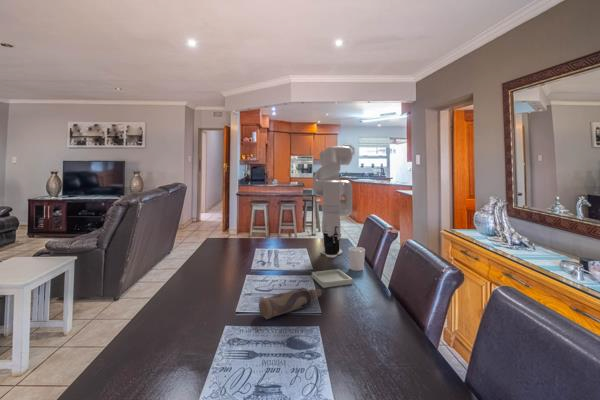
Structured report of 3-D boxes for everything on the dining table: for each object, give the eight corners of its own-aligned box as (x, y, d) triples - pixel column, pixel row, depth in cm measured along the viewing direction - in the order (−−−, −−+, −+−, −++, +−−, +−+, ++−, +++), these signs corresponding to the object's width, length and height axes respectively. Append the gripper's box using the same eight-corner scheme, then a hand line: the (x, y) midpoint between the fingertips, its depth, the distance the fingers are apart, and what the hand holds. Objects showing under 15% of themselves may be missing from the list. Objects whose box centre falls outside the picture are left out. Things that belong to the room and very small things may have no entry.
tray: (311, 276, 134) (311, 272, 134) (338, 273, 138) (338, 269, 138) (323, 287, 121) (323, 282, 121) (352, 283, 126) (352, 278, 125)
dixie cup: (327, 259, 124) (327, 233, 123) (319, 254, 131) (319, 230, 130) (343, 257, 127) (344, 231, 126) (334, 252, 134) (334, 228, 133)
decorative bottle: (269, 324, 93) (268, 303, 92) (258, 315, 99) (257, 295, 99) (330, 302, 108) (330, 285, 107) (318, 296, 114) (317, 279, 113)
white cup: (363, 266, 148) (363, 246, 147) (365, 271, 141) (365, 251, 140) (347, 265, 149) (348, 246, 148) (349, 271, 141) (349, 250, 140)
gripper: (316, 207, 134) (316, 245, 136) (331, 212, 117) (331, 255, 119) (331, 206, 136) (331, 244, 138) (348, 211, 120) (348, 253, 121)
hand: (331, 249), depth 128 cm, fingers closed on dixie cup, 8 cm apart
